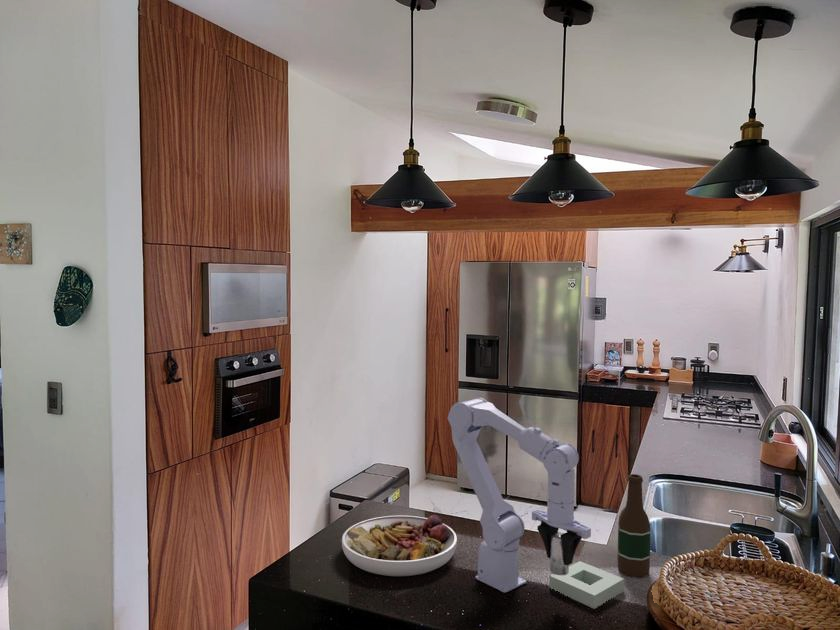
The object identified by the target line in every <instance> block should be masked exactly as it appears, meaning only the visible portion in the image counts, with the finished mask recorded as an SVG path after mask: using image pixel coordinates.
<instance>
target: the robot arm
mask: <svg viewBox="0 0 840 630" xmlns="http://www.w3.org/2000/svg"><path fill="white" fill-rule="evenodd" d="M447 415H448V416H447V421H448V422H449V425H450V427H451V438H452V443H453V445H454V447H455V450H456V453H457V455H458V457H459V459H460V461H461V463H462V466H463V468H464V470H465V473H466V475H467V477H468V479H469V481H470V483H471V486H472V488H473V491H474V493H475V495H476V498H477V500H478V502H479V504H480V506H481V509H482V512H481V516H480V519H479V523H480V525H481V529H482V537H483V541H482V542H481V544H480V545H479V548H478V553H477V575H475V579H476V580H477V581H480V582H482V583H484V584H486V585H487V586H490V587H492V588H494V589H497V590H499V591H500V592H502V593H507V592H510V591H512V590H514V589H516V588H518V587H520V586H522V585H524V584H527V580H526V579H524V578H522V577H520V576H519V575H520V574H519V570H520V566H519V564H520V559H519V558H520V538H521V537H522V536H523V535H524V533H525V529H526V527H525V523H524V520H523V519H522V517H521V516H520V515H519V514H518V513H517V512H516V511H515V508H514V505H512V504H510V503H509V502H507V501H505V500H504V498H503V496H502V494H501V491H500V488H499V487H498V485H497V483H496V480H495V478H494V477H493V474H492V472H491V470H490V468H489V465H488V463H487V461H486V459H485V457H484V454H483V452H482V449H481V447H480V446H479V443H478V436H479V434H480V432H481V430H482V429H483V427H486V426H489V427H491V428H492V429H495V430H497V431H499V432H500V433H502V434H504V435H506V436H508V437H510V438H512V440H513V439H514V440H516V442H518V443H517V444H518V448H519V449H520V450H522V451H524V452H525V453H526V454H528V455H530V456H532V458H534V459H536V460H538V461H539V462H541V463H542V464H543V466H544V468H545V470H546V471H547V503H546V504H547V511H544V510H540V509H535V510H532V511H531V521H538V522H540V524H539V525H537V529H536V530H537V531H538V533H539V535H540V536H541V540H542V542H543V545H544V548H545V552H546V557H547V558H548V559H550V554H551V534H552V533H555V532H559V529H561V530H563V531H566V532H563V533H564V534H562V535H560V537H561V540H562V544H563V551H564V565H569V566H570V565H572V564H573V561H574V557H575V553H576V551H577V548H578V546H579V544H580V542H581V540H582V539H583V540H587V539H589V538H591V537H592V528H591V527H589V526H587V525H584V524H583V523H581V521H578V520H576V519H575V514H574V513H575V512H574V511H575V509H574V508H575V467H577V466H578V463H579V460H580V456H579V453H578V451H577V449H576V448H575V447H574V446H573V445H572V444H570V443H569V442H562V443H560V441H559V440H558V439H556V438H555V439H554V438H552V437H550V436H549V435H547V434H545V433H543V432H542V430H543V429H541V428H540V427H538V426H537V427H533V426H530V427H524V426H522V424H519V423H518V422H517V421H515V420H514V419H512V418H511V417H509V416H508V415H506V414H505V413H504V412H502V411H501V410H500V409H498V408H496V406H495V405H494V403H492V402H490V401H487V400H486V399H485V398H482V397H475V398H474V399H470V400H465V401H462V402H461V401H460V402H459V401H458V402H455V403H454V404H453V405H452V406H451V408H450V410H449V412H448V414H447Z"/></svg>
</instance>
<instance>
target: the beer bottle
mask: <svg viewBox="0 0 840 630" xmlns="http://www.w3.org/2000/svg"><path fill="white" fill-rule="evenodd" d="M626 478H627V481H628V484H627V495H626V502H625V506H624V508H623V509H622V510H621V511H620V514H619V516H618V524H617V569H618V572H619V573H620V574H622V575H624V576H627V577H629V578H634V577H636V579H643V578H645V577H647V576H649V575H650V569H651V568H650V567H651V566H650V564H651V563H650V561H651V558H650V557H651V523H650V520H649V515H648V514H647V512H646V511H645V509H644V503H643V482H644V479H643V476H642V475H639V474H636V473H635V474H634V473H632V474H628V476H627V477H626Z"/></svg>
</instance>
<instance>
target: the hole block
mask: <svg viewBox="0 0 840 630" xmlns="http://www.w3.org/2000/svg"><path fill="white" fill-rule="evenodd" d="M584 582H585V583H584ZM589 584H590V585H589ZM550 588H551V589H550ZM549 589H550V590H552V589H554V590H555V591H554V590H553V591H554V592H556V591H558V592H560V593H559V594H561V593H562V594H561V595H563V594H564V595H563V596H565V597H567V596H568V598H569V597H570V599H571V600H573V601H576V602H578V603H581V604H583V605H585V606H587V607H590V609H594V610H595V609H597V608H598V606H599V607H600V606H602V605H603V603H604V604H605V603H607V602H608V600H609V599H610V600H612V599H613V598H612V597H614V596H615V597H617V596H618V595H617V594H619V593H621V592H622V593H623V591H625V578H624V577H621V576H619V575H616V574H614V573H611V572H609V571H605V570H603V569H601V568H598V567H596V566H594V565H590V564H588V563H586V562H583V561H581V560H580V561H577V562H575V563H572V564H570V565H569V573H568V574H567V575H556V574H553V573H552V574H551V575H549ZM558 592H557V593H558ZM622 593H621V594H622ZM616 595H617V596H616ZM619 595H620V594H619ZM615 597H614V598H615ZM611 598H612V599H611ZM610 600H609V601H610ZM606 601H607V602H606Z"/></svg>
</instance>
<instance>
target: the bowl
mask: <svg viewBox="0 0 840 630" xmlns="http://www.w3.org/2000/svg"><path fill="white" fill-rule="evenodd" d="M457 537H458V536H457V534H456V532H455V531H454V530H453V529H452V528H451V527H450V526H449V525H446V524H445V523H443V521H442V519H441V517H440V516H439V515H437V514H432V515H430V516H429V517H421V516H417V515H416V516H415V515H386V516H379V517H372V518H369V519H365V520H363V521H359V522H358V523H355V524H353V525H351V526H350V527H349V528H347V529H346V530H345V531H344V533H343V534H342V537H341V547H342V550H343V553H344V555H345V557H346V558H347V560H348V561H349V562H350V563H351V564H353V565H354V566H355V567H357V568H359V569H361V570H363V571H365V572H368V573H372V574H375V575H380V576H387V577H410V576H416V575H417V576H418V575H422V574H426V573H429V572H432V571H434V570H435V571H436V570H437V569H438V568H441V567H443V566H444V565H445V564H446V563H447V562H449V561H450V559H452V557H453V556H454V554H455V552H456V550H457V546H458V545H457V544H458V538H457Z"/></svg>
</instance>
